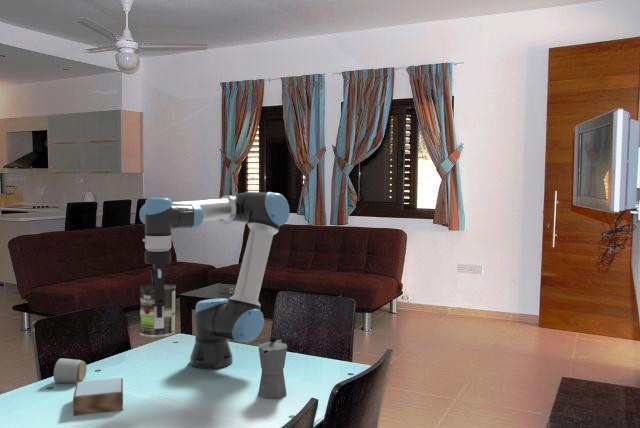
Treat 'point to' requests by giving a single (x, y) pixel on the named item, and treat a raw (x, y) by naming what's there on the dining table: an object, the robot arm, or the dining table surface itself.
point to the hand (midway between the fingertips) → (157, 323)
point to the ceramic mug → (69, 371)
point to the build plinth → (98, 396)
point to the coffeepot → (272, 369)
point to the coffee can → (148, 311)
